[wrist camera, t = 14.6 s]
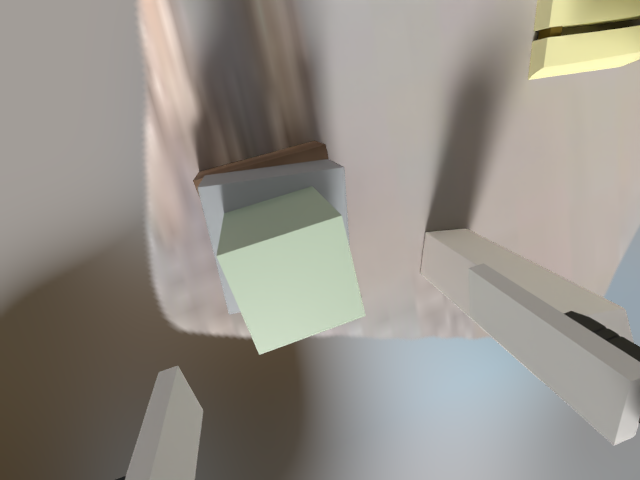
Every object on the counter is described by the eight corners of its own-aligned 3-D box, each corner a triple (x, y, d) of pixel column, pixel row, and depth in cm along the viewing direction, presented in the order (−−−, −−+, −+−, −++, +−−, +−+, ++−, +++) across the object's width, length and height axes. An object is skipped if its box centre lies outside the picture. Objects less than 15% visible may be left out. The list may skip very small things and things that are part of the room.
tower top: (204, 175, 27) (197, 187, 23) (328, 158, 29) (344, 167, 25) (230, 285, 31) (229, 314, 27) (336, 264, 33) (352, 288, 29)
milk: (424, 231, 40) (608, 346, 20) (466, 227, 41) (679, 332, 21) (419, 274, 42) (579, 417, 22) (459, 269, 43) (646, 400, 23)
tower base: (199, 171, 32) (193, 180, 27) (313, 140, 33) (325, 144, 29) (239, 272, 37) (238, 294, 32) (336, 241, 38) (349, 258, 34)
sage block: (224, 213, 24) (216, 256, 17) (312, 186, 25) (341, 215, 17) (254, 289, 27) (259, 354, 19) (332, 262, 27) (365, 315, 20)
